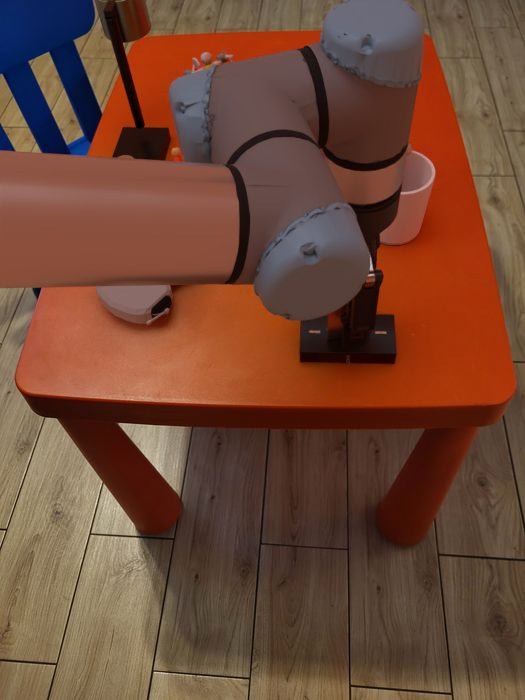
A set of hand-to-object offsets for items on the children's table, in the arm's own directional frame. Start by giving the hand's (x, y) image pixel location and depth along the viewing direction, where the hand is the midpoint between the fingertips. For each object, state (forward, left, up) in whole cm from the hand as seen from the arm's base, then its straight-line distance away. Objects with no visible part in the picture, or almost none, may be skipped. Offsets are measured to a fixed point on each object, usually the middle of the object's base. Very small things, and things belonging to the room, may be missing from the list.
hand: (348, 324), depth 76 cm
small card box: (0, 0, -2) cm, 2 cm away
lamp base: (+1, +48, -4) cm, 49 cm away
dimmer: (0, 0, -4) cm, 4 cm away
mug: (+19, +10, -5) cm, 22 cm away
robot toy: (-13, +25, -5) cm, 29 cm away
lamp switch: (-3, +45, -1) cm, 45 cm away
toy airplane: (+23, +57, -5) cm, 62 cm away
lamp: (+8, +55, 0) cm, 55 cm away
